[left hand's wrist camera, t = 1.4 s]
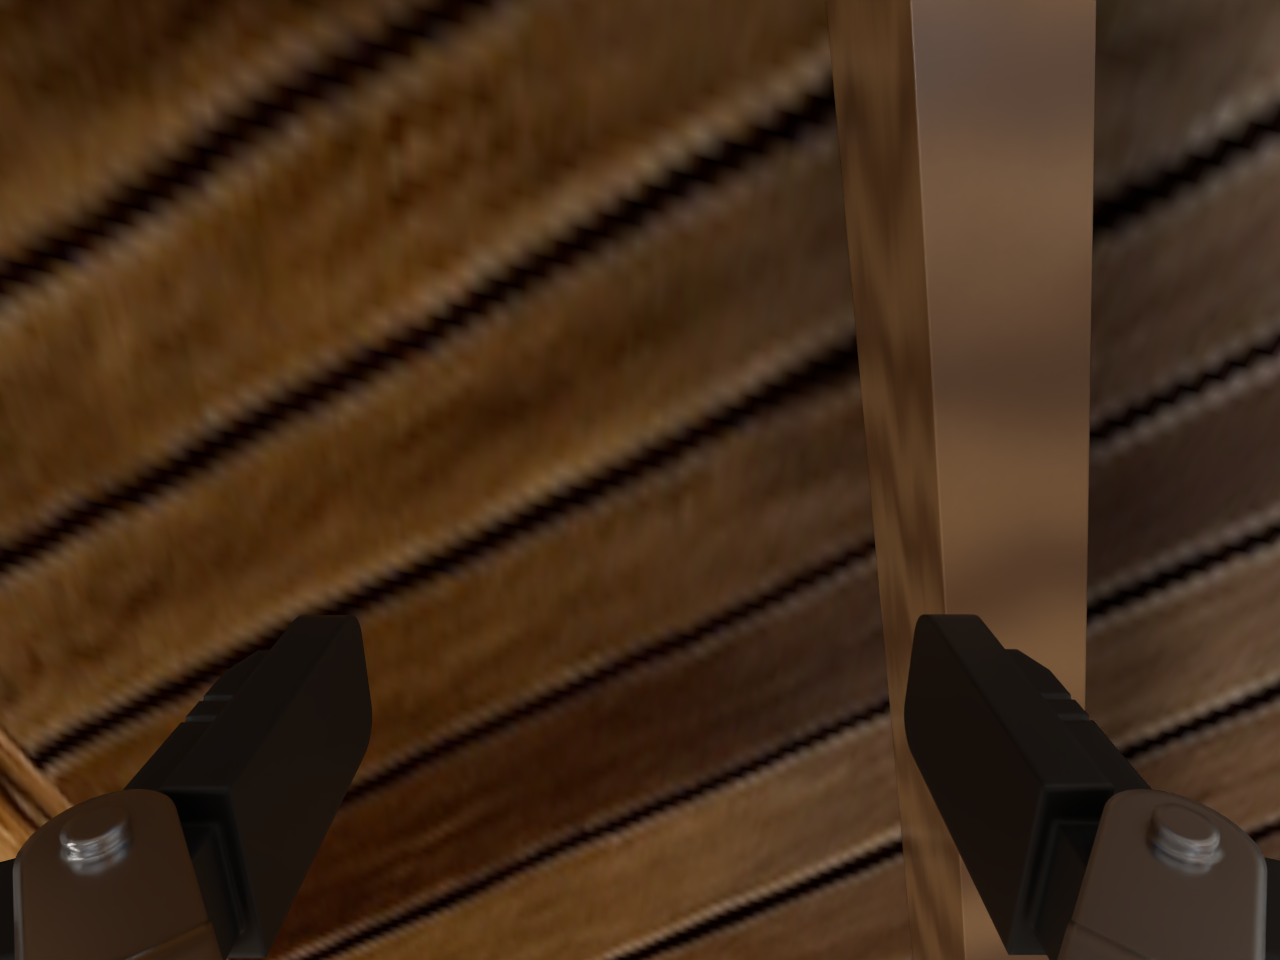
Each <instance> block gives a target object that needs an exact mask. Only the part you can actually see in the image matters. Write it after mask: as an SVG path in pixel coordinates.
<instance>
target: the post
mask: <svg viewBox="0 0 1280 960" xmlns="http://www.w3.org/2000/svg"><path fill="white" fill-rule="evenodd" d="M826 7H827V18H828V29H829V40H830V51H831V62H832V73H833V84H834V95H835V106H836V117H837V128H838V139H839V150H840V161H841V172H842V183H843V194H844V205H845V216H846V227H847V238H848V249H849V260H850V271H851V282H852V293H853V304H854V315H855V326H856V337H857V348H858V359H859V370H860V381H861V392H862V403H863V414H864V425H865V436H866V447H867V458H868V469H869V480H870V491H871V502H872V513H873V524H874V535H875V546H876V557H877V568H878V579H879V590H880V601H881V612H882V623H883V634H884V645H885V656H886V667H887V678H888V689H889V700H890V711H891V722H892V733H893V744H894V755H895V766H896V777H897V788H898V799H899V810H900V821H901V832H902V843H903V854H904V865H905V876H906V887H907V898H908V909H909V920H910V931H911V942H912V953H913V960H1049V958H1048V956H1047V955H1008V953H1007V951H1006V949H1005V947H1004V945H1003V943H1002V941H1001V939H1000V936H999V934H998V932H997V930H996V928H995V926H994V924H993V922H992V920H991V918H990V916H989V914H988V912H987V910H986V907H985V905H984V903H983V901H982V899H981V897H980V895H979V893H978V891H977V889H976V887H975V885H974V883H973V880H972V878H971V876H970V874H969V872H968V870H967V868H966V866H965V864H964V862H963V860H962V858H961V856H960V853H959V851H958V849H957V847H956V845H955V843H954V841H953V839H952V837H951V835H950V833H949V831H948V829H947V826H946V824H945V822H944V820H943V818H942V816H941V814H940V812H939V810H938V808H937V806H936V804H935V802H934V799H933V797H932V795H931V793H930V791H929V789H928V787H927V785H926V783H925V781H924V779H923V777H922V775H921V772H920V770H919V768H918V766H917V764H916V762H915V760H914V758H913V756H912V754H911V751H910V749H909V746H908V742H907V738H906V733H905V725H904V705H905V697H906V690H907V682H908V675H909V667H910V660H911V652H912V645H913V638H914V631H915V626H916V622H917V620H918V618H919V617H920V616H921V615H923V614H975V615H977V616H979V617H980V618H981V619H982V621H983V622H984V623H985V624H986V626H987V627H988V628H989V629H990V631H991V632H992V633H993V634H994V636H995V637H996V638H997V639H998V641H999V642H1000V643H1001V644H1002V646H1003V647H1004V648H1005V649H1018V650H1019V651H1021V652H1023V653H1024V654H1026V655H1027V656H1029V657H1030V658H1032V659H1033V660H1035V661H1037V662H1038V663H1040V664H1041V665H1043V666H1044V667H1046V668H1048V669H1049V670H1050V671H1051V672H1052V673H1053V674H1054V675H1055V677H1056V678H1057V679H1058V680H1059V681H1060V682H1061V684H1062V685H1063V686H1064V687H1065V688H1066V689H1067V691H1068V692H1069V693H1070V694H1071V699H1072V700H1076V701H1077V702H1078V704H1079V705H1080V706H1081V707H1082V708H1083V709H1084V711H1085V697H1086V631H1087V566H1088V501H1089V435H1090V370H1091V305H1092V239H1093V174H1094V109H1095V43H1096V0H826Z"/></svg>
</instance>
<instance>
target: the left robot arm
mask: <svg viewBox="0 0 1280 960" xmlns="http://www.w3.org/2000/svg"><path fill="white" fill-rule="evenodd" d="M904 725H905V733H906V738H907V742H908V746H909V749H910V751H911V754H912V756H913V758H914V760H915V762H916V764H917V766H918V768H919V770H920V772H921V775H922V777H923V779H924V781H925V783H926V785H927V787H928V789H929V791H930V793H931V795H932V797H933V799H934V802H935V804H936V806H937V808H938V810H939V812H940V814H941V816H942V818H943V820H944V822H945V824H946V826H947V829H948V831H949V833H950V835H951V837H952V839H953V841H954V843H955V845H956V847H957V849H958V851H959V853H960V856H961V858H962V860H963V862H964V864H965V866H966V868H967V870H968V872H969V874H970V876H971V878H972V880H973V883H974V885H975V887H976V889H977V891H978V893H979V895H980V897H981V899H982V901H983V903H984V905H985V907H986V910H987V912H988V914H989V916H990V918H991V920H992V922H993V924H994V926H995V928H996V930H997V932H998V934H999V936H1000V939H1001V941H1002V943H1003V945H1004V947H1005V949H1006V951H1007V953H1008V955H1047V956H1048V958H1049V960H1280V861H1278V860H1274V859H1269V858H1265V857H1264V856H1263V854H1262V852H1261V851H1260V849H1259V848H1258V846H1257V845H1256V843H1255V842H1254V841H1253V840H1252V839H1251V838H1250V837H1249V836H1248V834H1246V833H1245V832H1244V831H1243V830H1242V829H1241V828H1240V827H1239V826H1237V825H1236V824H1235V823H1233V822H1232V821H1230V820H1229V819H1228V818H1226V817H1225V816H1223V815H1221V814H1220V813H1218V812H1216V811H1215V810H1213V809H1211V808H1209V807H1207V806H1205V805H1203V804H1201V803H1198V802H1196V801H1194V800H1191V799H1189V798H1186V797H1183V796H1180V795H1176V794H1173V793H1169V792H1164V791H1159V790H1152V789H1151V788H1150V787H1149V785H1148V784H1147V783H1146V782H1145V781H1144V780H1143V778H1142V777H1141V776H1140V775H1139V774H1138V773H1137V771H1136V770H1135V769H1134V768H1133V767H1132V766H1131V764H1130V763H1129V762H1128V761H1127V760H1126V759H1125V757H1124V756H1123V755H1122V754H1121V753H1120V752H1119V750H1118V749H1117V748H1116V747H1115V746H1114V744H1113V743H1112V742H1111V741H1110V740H1109V739H1108V737H1107V736H1106V735H1105V734H1104V733H1103V732H1102V730H1101V729H1100V728H1099V727H1098V726H1097V725H1096V723H1095V722H1094V721H1089V718H1088V714H1087V713H1086V712H1085V711H1084V709H1083V708H1082V707H1081V706H1080V705H1079V704H1078V702H1077V701H1076V700H1072V699H1071V694H1070V693H1069V692H1068V691H1067V689H1066V688H1065V687H1064V686H1063V685H1062V684H1061V682H1060V681H1059V680H1058V679H1057V678H1056V677H1055V675H1054V674H1053V673H1052V672H1051V671H1050V670H1049V669H1048V668H1046V667H1044V666H1043V665H1041V664H1040V663H1038V662H1037V661H1035V660H1033V659H1032V658H1030V657H1029V656H1027V655H1026V654H1024V653H1023V652H1021V651H1019V650H1018V649H1005V648H1004V647H1003V646H1002V644H1001V643H1000V642H999V641H998V639H997V638H996V637H995V636H994V634H993V633H992V632H991V631H990V629H989V628H988V627H987V626H986V624H985V623H984V622H983V621H982V619H981V618H980V617H979V616H977V615H975V614H923V615H921V616H920V617H919V618H918V620H917V622H916V626H915V631H914V638H913V645H912V652H911V660H910V667H909V675H908V682H907V690H906V697H905V705H904ZM371 726H372V707H371V699H370V691H369V684H368V677H367V670H366V662H365V655H364V648H363V640H362V633H361V628H360V624H359V622H358V620H357V618H356V617H354V616H299V617H297V618H296V619H295V620H294V621H293V622H292V624H291V625H290V626H289V627H288V629H287V630H286V631H285V632H284V634H283V635H282V636H281V637H280V638H279V640H278V641H277V642H276V643H275V645H274V646H273V647H272V648H271V650H258V651H257V652H255V653H253V654H252V655H250V656H249V657H247V658H246V659H244V660H242V661H241V662H239V663H238V664H236V665H235V666H233V667H231V668H230V669H228V670H227V671H225V672H224V673H223V675H222V676H221V677H220V678H219V679H218V680H217V681H216V683H215V684H214V685H213V686H212V687H211V688H210V690H209V691H208V692H207V693H206V694H205V695H204V700H203V701H199V702H198V704H197V705H196V706H195V707H194V708H193V709H192V710H191V712H190V713H189V714H188V715H187V716H186V721H185V722H181V723H180V724H179V726H178V727H177V728H176V729H175V730H174V731H173V733H172V734H171V735H170V736H169V737H168V738H167V740H166V741H165V742H164V743H163V744H162V745H161V746H160V748H159V749H158V750H157V751H156V752H155V753H154V755H153V756H152V757H151V758H150V759H149V760H148V762H147V763H146V764H145V765H144V766H143V767H142V769H141V770H140V771H139V772H138V773H137V774H136V775H135V777H134V778H133V779H132V780H131V781H130V782H129V784H128V785H127V786H126V787H125V788H124V789H123V790H121V791H116V792H111V793H107V794H104V795H100V796H97V797H94V798H91V799H89V800H86V801H84V802H82V803H79V804H77V805H75V806H73V807H71V808H69V809H67V810H65V811H64V812H62V813H60V814H59V815H57V816H55V817H54V818H52V819H51V820H50V821H48V822H47V823H45V824H44V825H43V826H41V827H40V828H39V829H38V830H37V831H36V832H35V833H34V834H32V836H31V837H30V838H29V839H28V840H27V841H26V842H25V843H24V845H23V846H22V848H21V849H20V851H19V852H18V854H17V856H16V858H14V859H11V860H7V861H3V862H0V960H226V959H227V958H266V956H267V954H268V952H269V950H270V948H271V946H272V944H273V942H274V940H275V938H276V936H277V934H278V932H279V929H280V927H281V925H282V923H283V921H284V919H285V917H286V915H287V913H288V911H289V909H290V907H291V905H292V903H293V901H294V899H295V897H296V895H297V893H298V891H299V888H300V886H301V884H302V882H303V880H304V878H305V876H306V874H307V872H308V870H309V868H310V866H311V864H312V862H313V860H314V858H315V856H316V854H317V852H318V849H319V847H320V845H321V843H322V841H323V839H324V837H325V835H326V833H327V831H328V829H329V827H330V825H331V823H332V821H333V819H334V817H335V815H336V813H337V811H338V808H339V806H340V804H341V802H342V800H343V798H344V796H345V794H346V792H347V790H348V788H349V786H350V784H351V782H352V780H353V778H354V776H355V774H356V772H357V770H358V767H359V765H360V763H361V761H362V759H363V757H364V755H365V753H366V750H367V747H368V744H369V740H370V734H371Z"/></svg>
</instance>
